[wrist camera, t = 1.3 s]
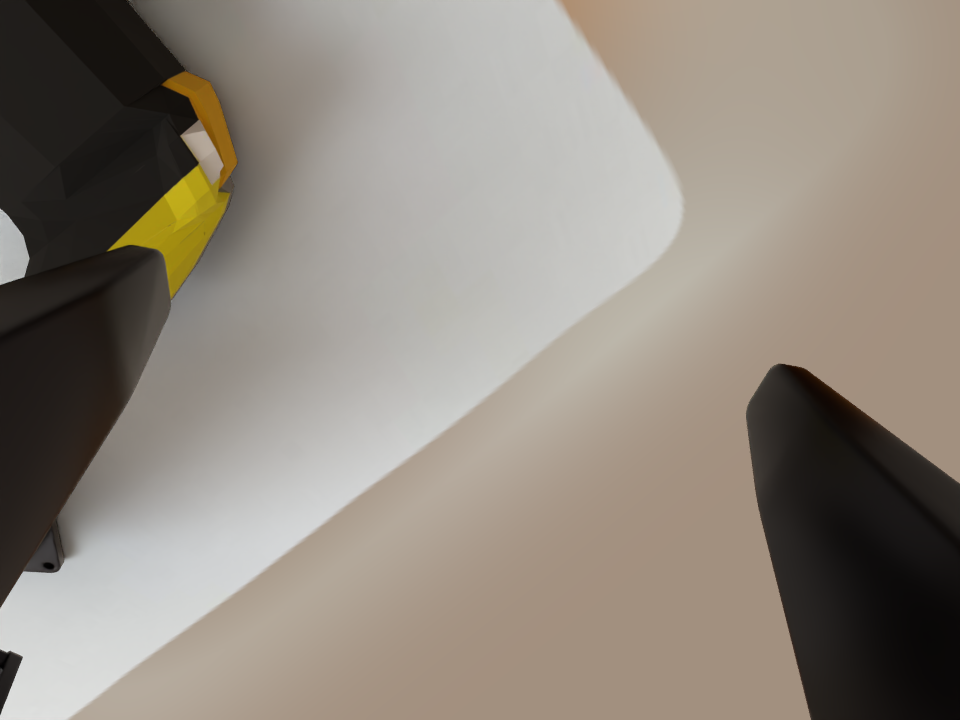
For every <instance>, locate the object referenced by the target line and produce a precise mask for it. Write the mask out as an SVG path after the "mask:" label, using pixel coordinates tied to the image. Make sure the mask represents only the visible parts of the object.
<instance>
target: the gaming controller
mask: <svg viewBox="0 0 960 720" xmlns="http://www.w3.org/2000/svg"><path fill="white" fill-rule="evenodd" d="M237 163H238V161H237V158H236V155H235V151H234V148H233V145H232V141H231V138H230V135H229V132H228V128H227V125H226V122H225V118H224V115H223V112H222V109H221V105H220V102H219V100H218V98H217V96H216V94H215V92H214V90H213V88H212V85H211V83H210V82H209V81H207V80H204V79H202V78H200V77H198V76H195V75H193V74H191V73H189V72H186V71H185V69H184V68H183V67H182V66H181V65H180V63H179V62H178V61H177V60H176V59H175V58H174V56H173V55H172V54H171V53H170V52H169V51H168V49H167V48H166V47H165V46H164V45H163V44H162V42H161V41H160V40H159V39H158V38H157V36H156V35H155V34H154V33H153V32H152V31H151V29H150V28H149V27H148V26H147V25H146V24H145V22H144V21H143V20H142V19H141V18H140V17H139V15H138V14H137V13H136V12H135V11H134V10H133V8H132V7H131V6H130V5H129V4H128V3H127V1H126V0H0V208H1V209H2V210H3V211H4V212H5V213H6V214H7V215H8V216H9V217H10V219H11V220H12V221H13V222H14V224H15V225H16V226H17V228H18V229H19V230H20V232H21V233H22V234H23V236H24V239H25V243H26V247H27V250H28V254H29V258H30V259H29V263H28V266H27V270H26V273H25V277H27V276H31V275H34V274H37V273H40V272H43V271H46V270H50V269H53V268H56V267H59V266H62V265H65V264H69V263H72V262H75V261H78V260H81V259H85V258H88V257H91V256H94V255H97V254H100V253H104V252H107V251H110V250H113V249H116V248H119V247H123V246H126V245H137V246H142V247H148V248H153V249H157V250H159V251H160V252H161V253H162V254H163V256H164V259H165V263H166V269H167V276H168V283H169V290H170V296H171V300H172V299H173V297H174V296H175V294H176V293H177V292H178V290H179V289H180V287H181V286H182V284H183V283H184V282H185V280H186V279H187V277H188V276H189V275H190V273H191V272H192V270H193V269H194V267H195V266H196V265H197V263H198V262H199V260H200V258H201V257H202V255H203V253H204V251H205V249H206V247H207V246H208V244H209V242H210V240H211V238H212V236H213V234H214V233H215V231H216V229H217V227H218V225H219V223H220V221H221V220H222V218H223V216H224V214H225V212H226V210H227V208H228V207H229V204H230V200H231V196H232V193H233V189H234V184H233V182H232V179H231V177H230V174H231V173H232V171H233V170H234V168H235V166H236V165H237Z"/></svg>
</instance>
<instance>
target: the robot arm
mask: <svg viewBox="0 0 960 720" xmlns="http://www.w3.org/2000/svg"><path fill="white" fill-rule="evenodd" d="M170 307H171V296H170V290H169V283H168V276H167V269H166V263H165V259H164V256H163V254H162V253H161V252H160V251H159V250H157V249H153V248H148V247H142V246H137V245H126V246H123V247H119V248H116V249H113V250H110V251H107V252H104V253H100V254H97V255H94V256H91V257H88V258H85V259H81V260H78V261H75V262H72V263H69V264H65V265H62V266H59V267H56V268H53V269H50V270H46V271H43V272H40V273H37V274H34V275H31V276H27V277H24V278H21V279H18V280H15V281H12V282H8V283H5V284H2V285H0V608H1V606H2V604H3V603H4V601H5V600H6V598H7V596H8V595H9V593H10V591H11V590H12V588H13V587H14V585H15V583H16V582H17V580H18V579H19V577H20V575H21V574H22V572H23V571H28V572H46V573H54V572H57V571H59V569H60V568H61V566H62V565H63V563H64V557H63V552H62V547H61V542H60V537H59V533H58V528H57V523H56V518H57V516H58V514H59V513H60V511H61V510H62V508H63V506H64V505H65V503H66V502H67V500H68V498H69V497H70V495H71V494H72V492H73V490H74V489H75V487H76V486H77V484H78V482H79V481H80V479H81V477H82V476H83V474H84V473H85V471H86V469H87V468H88V466H89V465H90V463H91V461H92V460H93V458H94V457H95V455H96V453H97V452H98V450H99V449H100V447H101V445H102V444H103V442H104V441H105V439H106V437H107V436H108V434H109V433H110V431H111V429H112V428H113V426H114V425H115V423H116V421H117V420H118V418H119V416H120V415H121V413H122V412H123V410H124V408H125V406H126V405H127V403H128V401H129V400H130V398H131V396H132V394H133V392H134V390H135V388H136V385H137V383H138V381H139V379H140V377H141V375H142V372H143V370H144V368H145V366H146V364H147V361H148V359H149V357H150V355H151V353H152V351H153V348H154V346H155V344H156V342H157V340H158V337H159V335H160V333H161V331H162V329H163V326H164V324H165V322H166V320H167V318H168V315H169V312H170ZM746 420H747V427H748V436H749V444H750V451H751V459H752V467H753V475H754V483H755V490H756V496H757V502H758V507H759V511H760V516H761V521H762V525H763V528H764V532H765V537H766V540H767V545H768V549H769V552H770V557H771V561H772V565H773V569H774V572H775V577H776V581H777V585H778V589H779V593H780V597H781V601H782V605H783V608H784V613H785V617H786V621H787V625H788V629H789V633H790V637H791V641H792V645H793V649H794V653H795V657H796V661H797V665H798V669H799V673H800V677H801V681H802V685H803V689H804V693H805V697H806V701H807V705H808V709H809V713H810V717H811V720H960V484H959V483H958V482H957V481H955V480H954V479H952V478H951V477H950V476H948V475H947V474H946V473H945V472H943V471H942V470H941V469H939V468H938V467H937V466H935V465H934V464H933V463H931V462H930V461H928V460H927V459H926V458H924V457H923V456H922V455H920V454H919V453H917V452H916V451H915V450H914V449H912V448H911V447H910V446H908V445H907V444H906V443H904V442H903V441H901V440H900V439H899V438H898V437H896V436H895V435H894V434H892V433H891V432H890V431H888V430H887V429H886V428H884V427H883V426H881V425H880V424H879V423H878V422H876V421H875V420H874V419H872V418H871V417H869V416H868V415H867V414H865V413H864V412H863V411H861V410H860V409H859V408H857V407H856V406H855V405H853V404H852V403H851V402H849V401H848V400H847V399H845V398H844V397H843V396H841V395H840V394H839V393H837V392H836V391H834V390H833V389H832V388H831V387H829V386H828V385H826V384H825V383H824V382H822V381H821V380H820V379H818V378H817V377H816V376H814V375H813V374H812V373H810V372H809V371H808V370H806V369H804V368H802V367H797V366H792V365H786V364H777V365H774V366H773V367H772V368H770V370H769V371H768V373H767V374H766V376H765V377H764V379H763V381H762V382H761V384H760V386H759V387H758V389H757V391H756V392H755V394H754V395H753V397H752V398H751V400H750V402H749V404H748V407H747V412H746ZM22 658H23V657H22V656H20V655H18V654H16V653H14V652H11V651H9V652H5V651H2V650H0V714H1V711H2V709H3V706H4V704H5V701H6V699H7V696H8V694H9V691H10V689H11V686H12V683H13V681H14V678H15V676H16V673H17V671H18V668H19V666H20V663H21V661H22Z"/></svg>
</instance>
